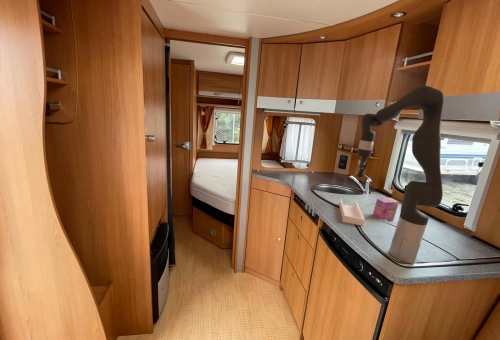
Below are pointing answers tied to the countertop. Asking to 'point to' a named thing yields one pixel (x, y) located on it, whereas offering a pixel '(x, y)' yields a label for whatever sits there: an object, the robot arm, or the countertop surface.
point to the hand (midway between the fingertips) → (359, 175)
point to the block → (358, 172)
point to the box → (385, 208)
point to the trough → (351, 214)
